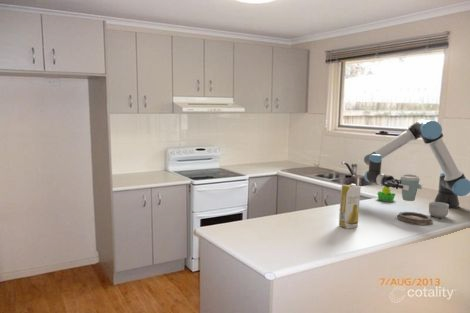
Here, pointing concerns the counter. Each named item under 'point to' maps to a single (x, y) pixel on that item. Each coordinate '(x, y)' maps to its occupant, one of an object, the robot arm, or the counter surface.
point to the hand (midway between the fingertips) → (415, 187)
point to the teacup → (438, 209)
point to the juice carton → (349, 206)
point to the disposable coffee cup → (413, 185)
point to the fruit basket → (386, 194)
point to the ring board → (414, 218)
